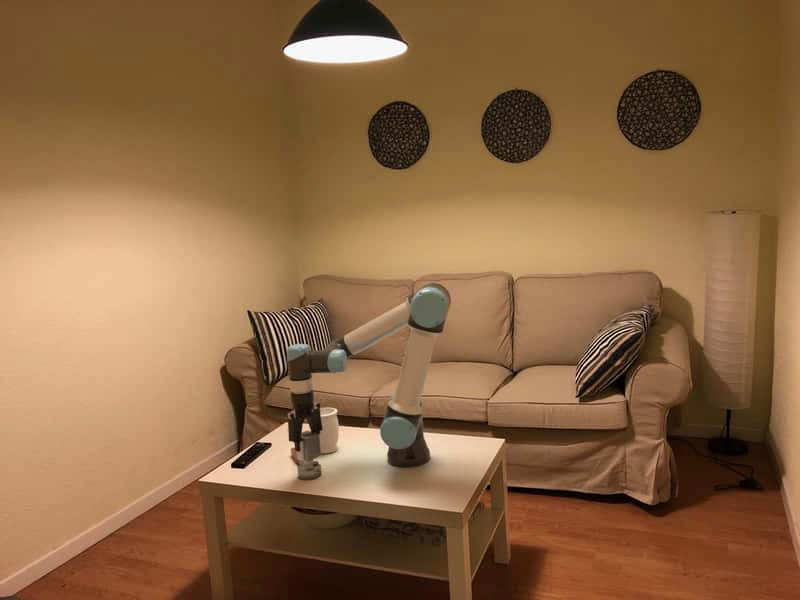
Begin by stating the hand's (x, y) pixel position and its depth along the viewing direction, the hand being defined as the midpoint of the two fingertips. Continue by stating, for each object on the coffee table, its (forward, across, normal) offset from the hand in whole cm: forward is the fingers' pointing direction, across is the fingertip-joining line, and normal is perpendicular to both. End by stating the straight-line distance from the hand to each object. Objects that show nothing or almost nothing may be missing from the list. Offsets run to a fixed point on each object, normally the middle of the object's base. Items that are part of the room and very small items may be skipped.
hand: (308, 456), depth 234 cm
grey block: (0, 0, 0) cm, 0 cm away
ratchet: (+7, -4, -8) cm, 11 cm away
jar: (+7, -20, -12) cm, 24 cm away
